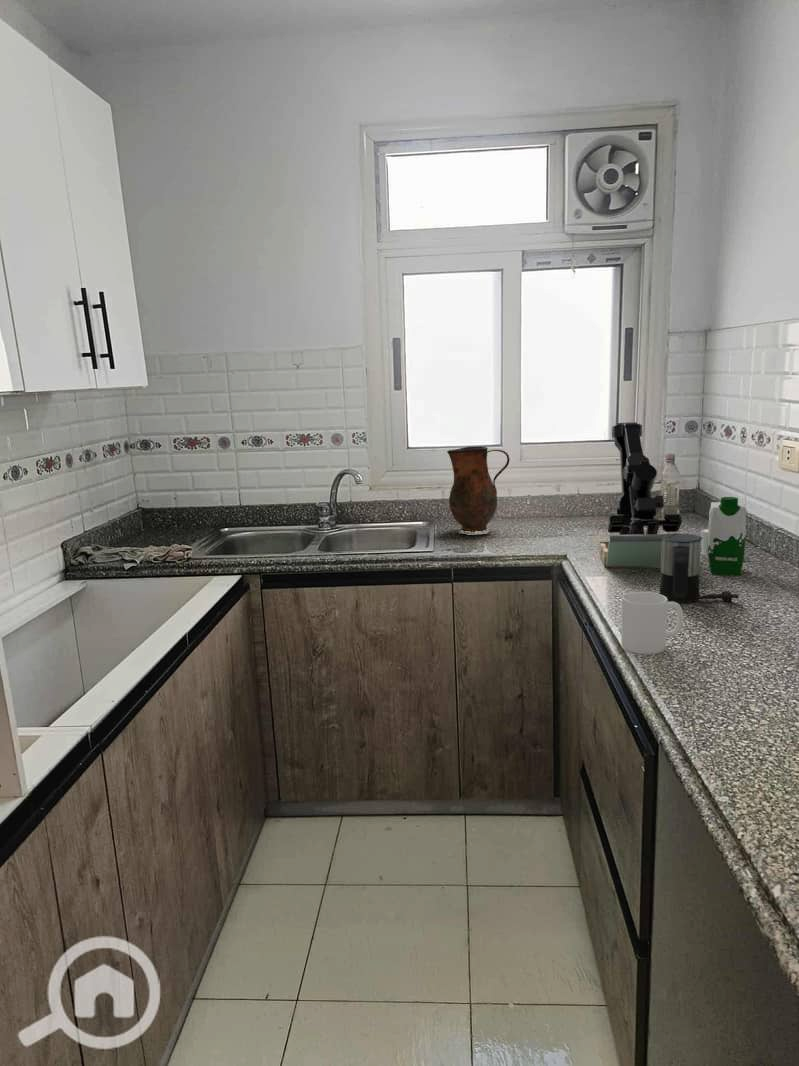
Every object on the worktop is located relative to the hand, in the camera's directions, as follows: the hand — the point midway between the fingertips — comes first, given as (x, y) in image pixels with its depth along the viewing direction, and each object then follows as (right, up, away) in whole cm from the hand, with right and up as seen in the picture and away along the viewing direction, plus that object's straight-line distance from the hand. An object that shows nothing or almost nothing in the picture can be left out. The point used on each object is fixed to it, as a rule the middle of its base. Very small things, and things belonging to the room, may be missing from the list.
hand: (647, 550), depth 189 cm
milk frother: (+3, -11, -24) cm, 27 cm away
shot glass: (+24, -2, +16) cm, 29 cm away
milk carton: (+20, -6, -2) cm, 21 cm away
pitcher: (-38, +5, +59) cm, 70 cm away
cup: (-17, -18, -51) cm, 56 cm away
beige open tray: (+2, -4, +11) cm, 12 cm away
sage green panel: (+1, -3, +5) cm, 6 cm away
